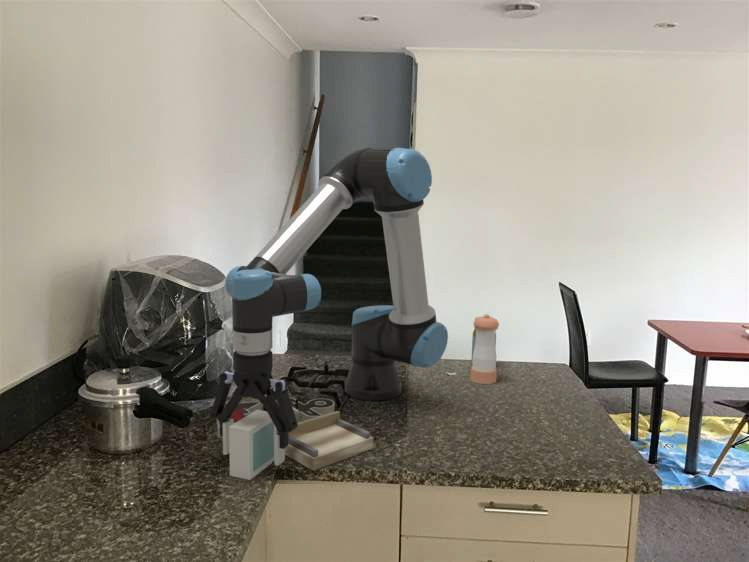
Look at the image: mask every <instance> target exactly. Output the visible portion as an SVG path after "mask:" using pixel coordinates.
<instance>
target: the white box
mask: <svg viewBox="0 0 749 562" xmlns="http://www.w3.org/2000/svg"><path fill="white" fill-rule="evenodd" d="M274 433H276V427H275V425H274V423H273V421H272V420H271V418H270V416H269V414H268V412H267V410H262V409H261V410H256V411H254V412H252V413H251V414H249V415H248V416H246V417H244V418H243V419H241V420H239V421H238V422H236V423H234V424H233V425H231V426H229V452H230V453H229V477H235V478H239V479H242V480H243V479H244V480H249V481H251V480H252V479H253V478H254V477H256V476H257V475H258V474H260V473H261V472H262V471H263V470H265V469H266V468H268V465H269V466H270V465H271V464H272V462H273V461H274ZM273 463H274V462H273Z"/></svg>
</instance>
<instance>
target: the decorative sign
mask: <svg viewBox="0 0 749 562" xmlns="http://www.w3.org/2000/svg"><path fill="white" fill-rule="evenodd" d="M289 398H290V402H291V405H292V408H293V411H294V414H295V417H296V420H297V423H299V422H302V421H305V420H309V419H312V418H315V417H319V416H322V415H325V414H329V413H332V412H335V411H336V410H335V407H336V406H335V401H334V400H333V399H330V398H323V397H321V398H314V399H310V400H308V401H307V403H303V402H300V401H299V400H298V408H297V409H296V406H295V404H296V400H297V399H296V398H294V397H289ZM256 410H262V403H260V401H246V402H239V404H238V405H237V407H236V408H235V410H234V412H233V413H232V415H231V417H230V418H229V419H234V423H236V422H238V421H239V420H241V419H243V418H244V417H246V416H248V415H249V414H251V413H252V412H254V411H256ZM216 425H217V439H223V437H222V436H220V422H219V421H218V419H217V418H216ZM277 431H278V430H277V429H276V432H277Z"/></svg>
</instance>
